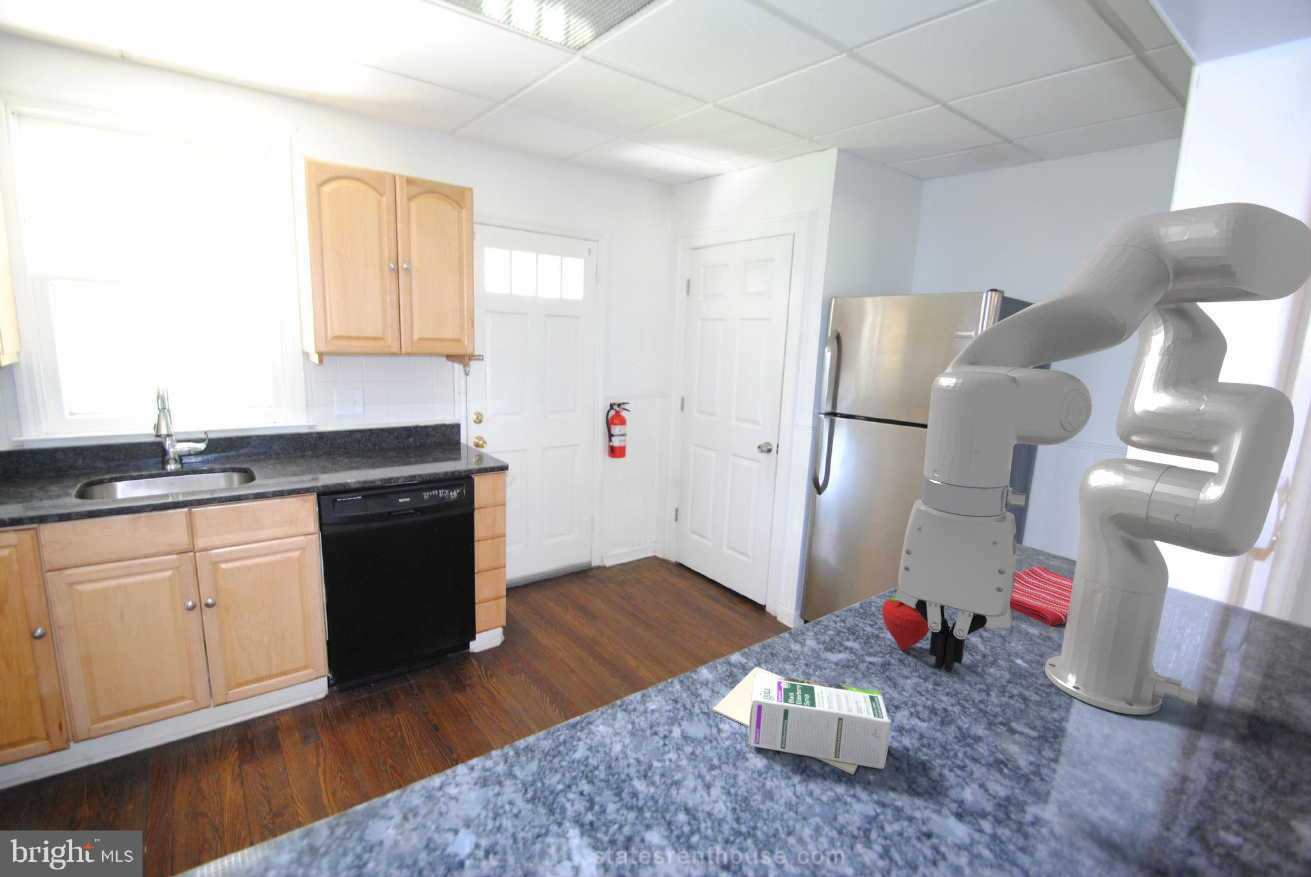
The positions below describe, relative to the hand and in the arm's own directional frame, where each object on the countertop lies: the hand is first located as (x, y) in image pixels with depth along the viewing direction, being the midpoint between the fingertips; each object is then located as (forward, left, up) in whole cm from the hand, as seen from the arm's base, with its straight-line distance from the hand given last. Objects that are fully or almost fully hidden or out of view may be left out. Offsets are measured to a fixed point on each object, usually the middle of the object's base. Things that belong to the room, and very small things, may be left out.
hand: (945, 664), depth 61 cm
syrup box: (+5, +2, -9) cm, 10 cm away
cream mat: (+15, +1, -12) cm, 19 cm away
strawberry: (+8, -24, -12) cm, 28 cm away
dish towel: (-8, -62, -13) cm, 64 cm away
